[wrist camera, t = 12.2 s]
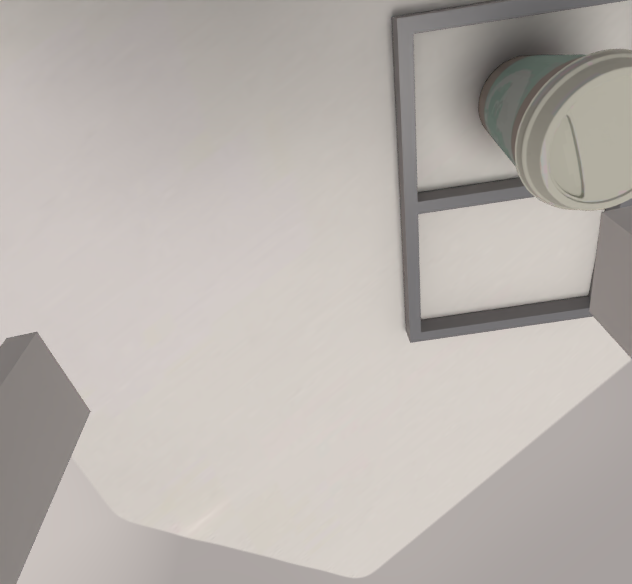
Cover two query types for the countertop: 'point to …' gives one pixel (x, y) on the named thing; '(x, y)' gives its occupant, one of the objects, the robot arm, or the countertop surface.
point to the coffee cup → (565, 125)
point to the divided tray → (509, 5)
